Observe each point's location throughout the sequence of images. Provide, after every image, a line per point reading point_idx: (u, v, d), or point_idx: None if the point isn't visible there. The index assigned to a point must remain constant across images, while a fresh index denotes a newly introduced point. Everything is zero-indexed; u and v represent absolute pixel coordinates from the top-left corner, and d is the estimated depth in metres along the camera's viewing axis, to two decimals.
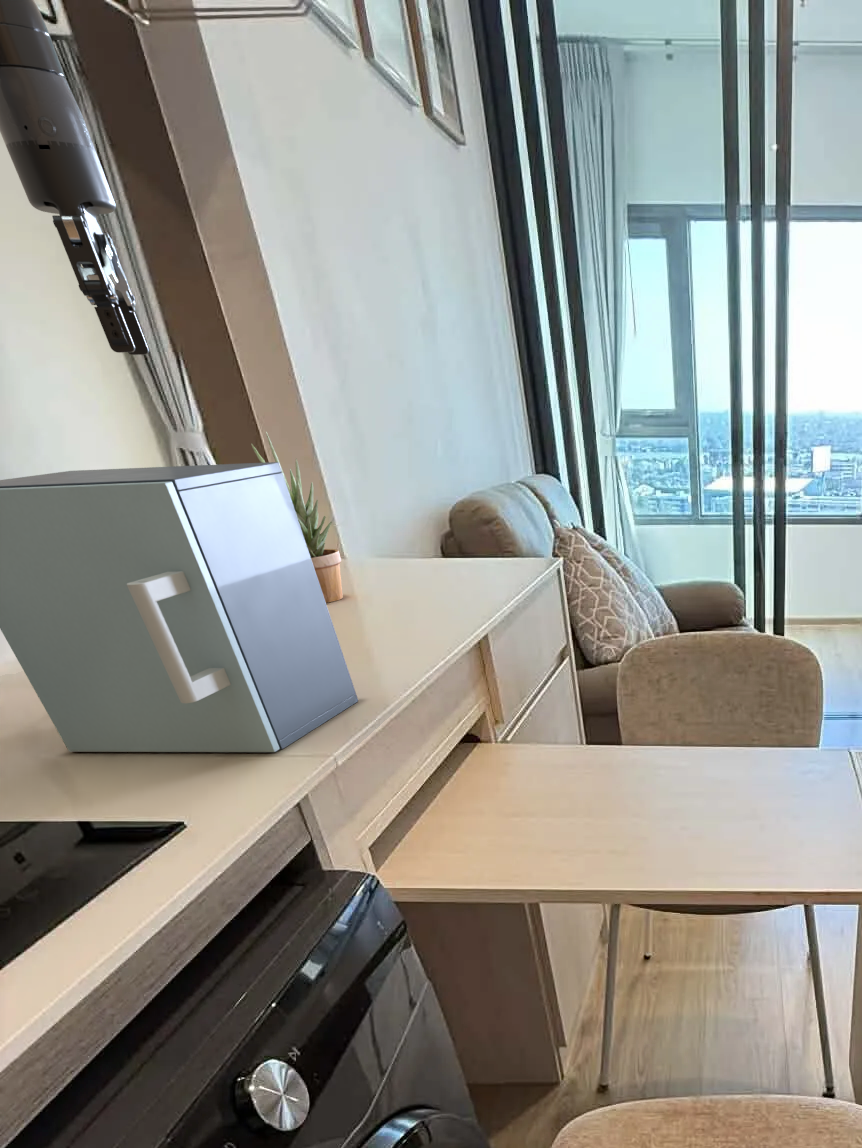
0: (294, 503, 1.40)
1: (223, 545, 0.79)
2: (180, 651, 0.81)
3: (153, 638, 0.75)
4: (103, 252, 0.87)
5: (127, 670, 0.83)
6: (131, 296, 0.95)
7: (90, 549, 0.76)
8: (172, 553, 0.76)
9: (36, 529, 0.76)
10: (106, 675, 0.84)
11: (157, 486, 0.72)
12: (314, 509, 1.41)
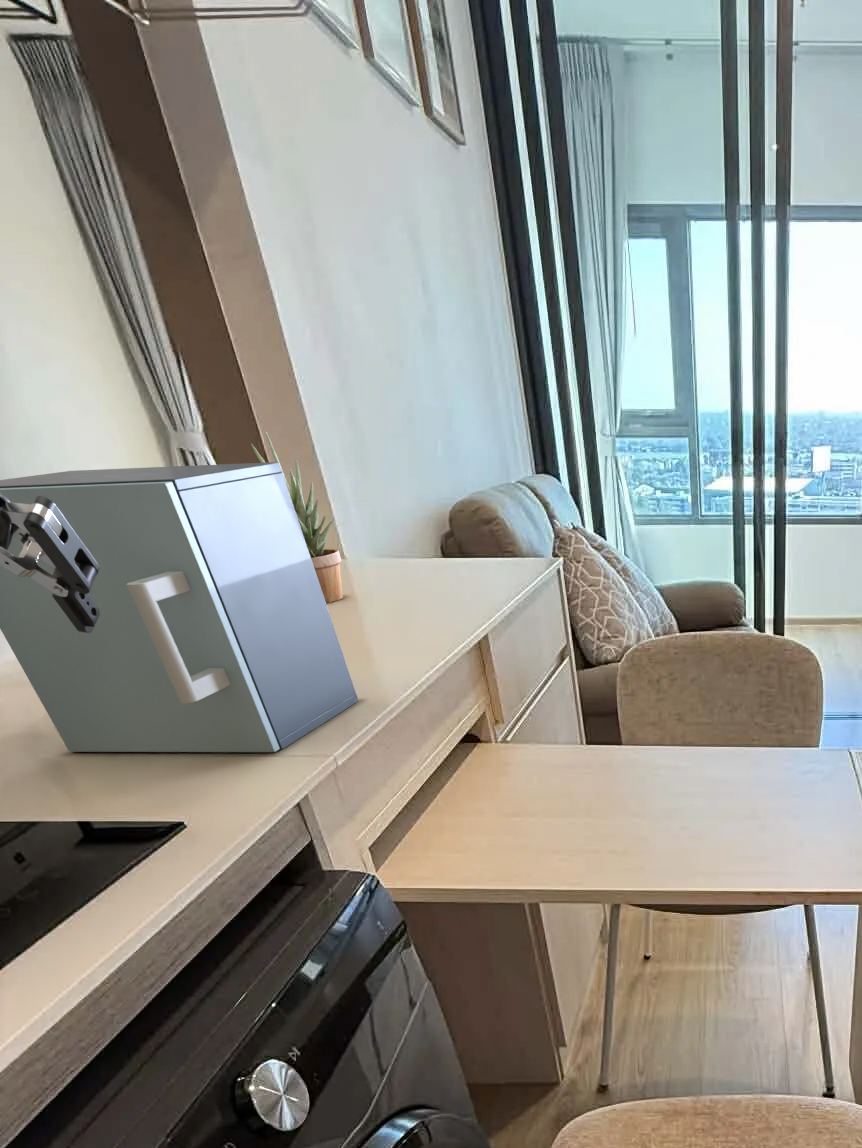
0: (294, 503, 1.40)
1: (223, 545, 0.79)
2: (180, 651, 0.81)
3: (153, 638, 0.75)
4: None
5: (127, 670, 0.83)
6: None
7: (90, 549, 0.76)
8: (172, 553, 0.76)
9: None
10: (106, 675, 0.84)
11: (157, 486, 0.72)
12: (314, 509, 1.41)
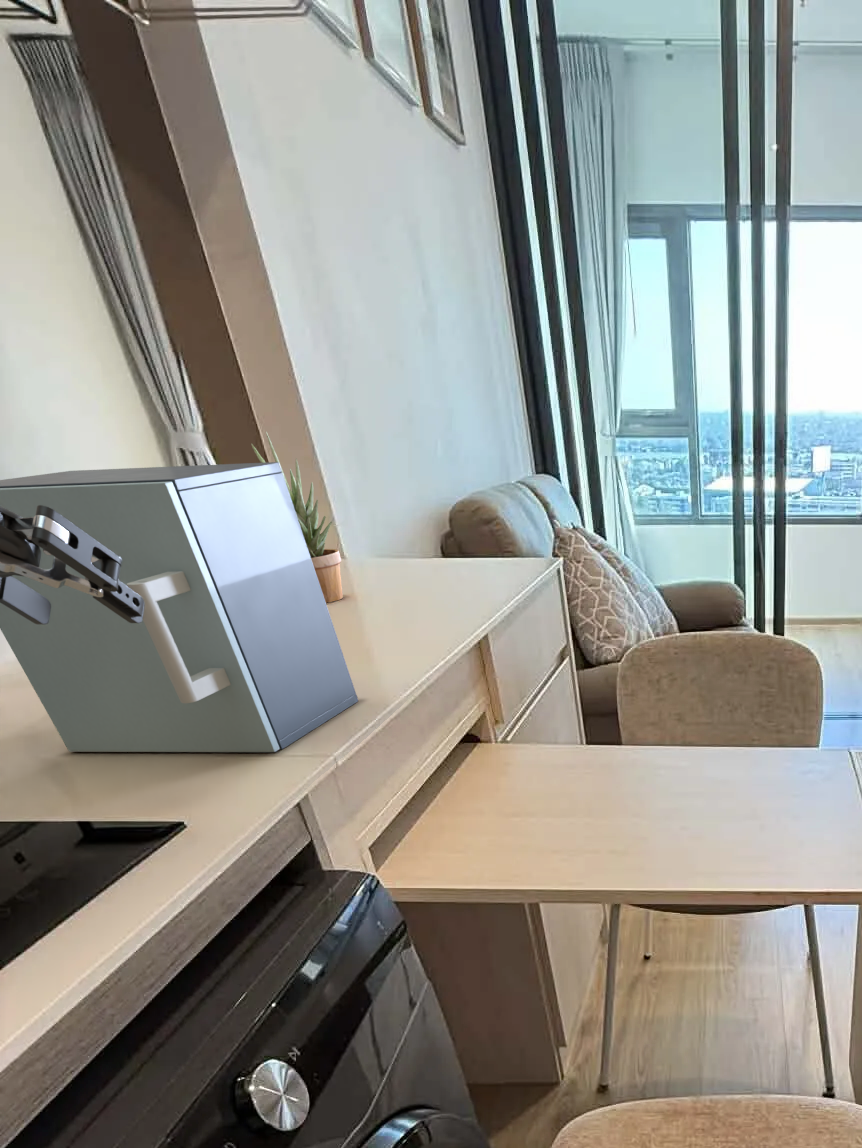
0: (294, 503, 1.40)
1: (223, 545, 0.79)
2: (180, 651, 0.81)
3: (153, 638, 0.75)
4: None
5: (127, 670, 0.83)
6: None
7: None
8: (172, 553, 0.76)
9: None
10: (106, 675, 0.84)
11: (157, 486, 0.72)
12: (314, 509, 1.41)
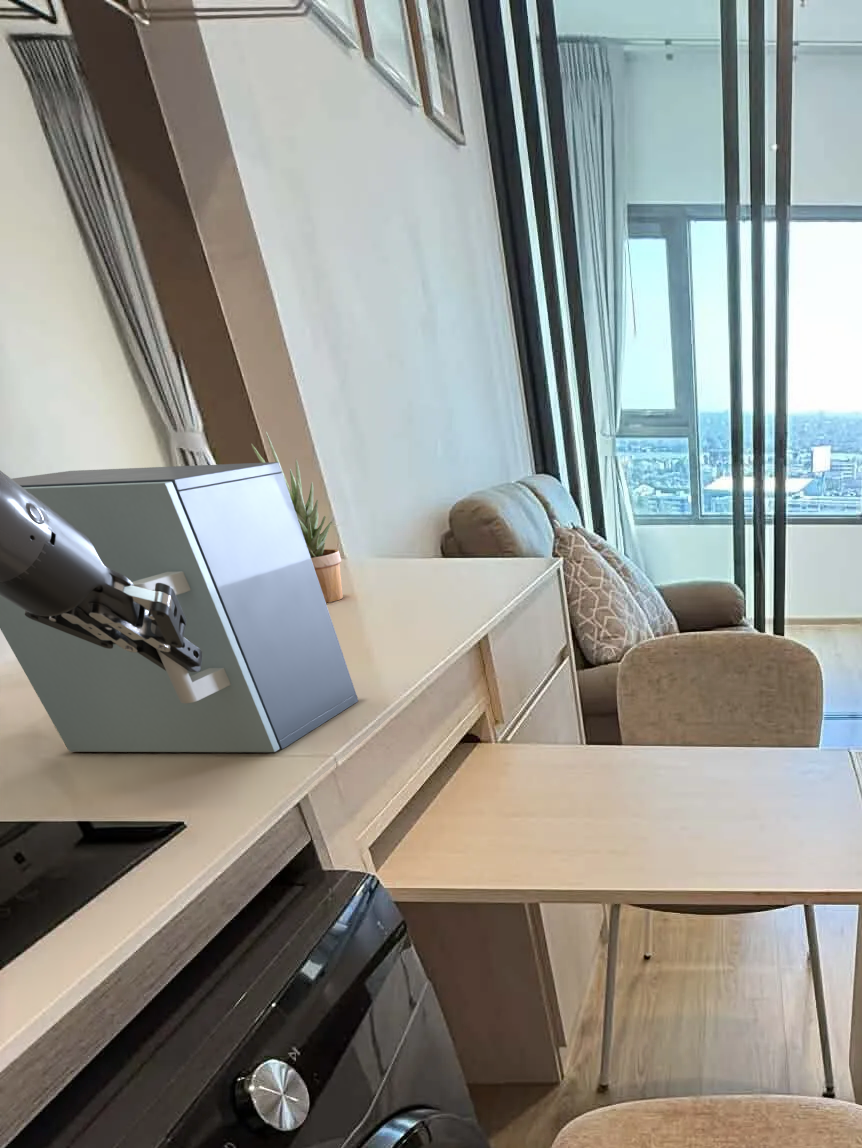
0: (294, 503, 1.40)
1: (223, 545, 0.79)
2: None
3: None
4: None
5: (127, 670, 0.83)
6: None
7: None
8: (172, 553, 0.76)
9: None
10: (106, 674, 0.84)
11: (156, 486, 0.72)
12: (314, 509, 1.41)
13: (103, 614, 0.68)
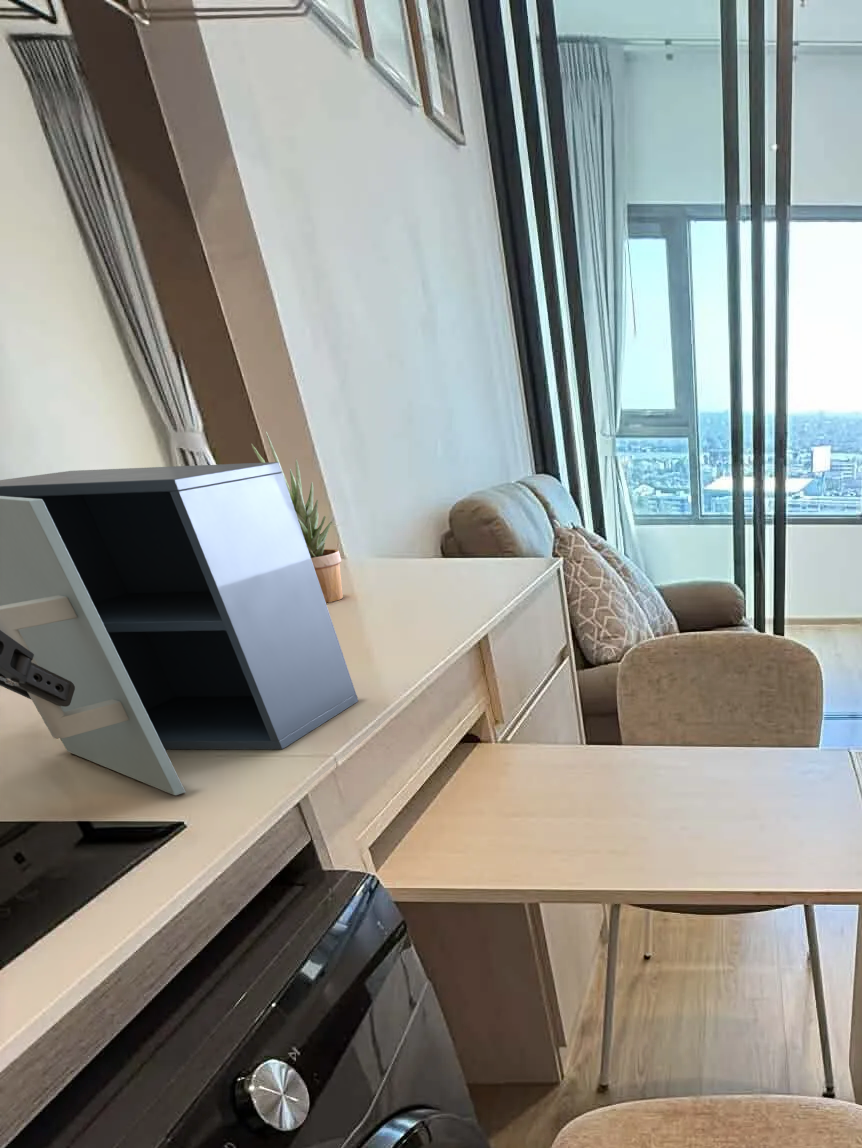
0: (294, 503, 1.40)
1: (223, 545, 0.79)
2: (92, 677, 0.75)
3: None
4: None
5: None
6: None
7: (13, 563, 0.71)
8: (55, 576, 0.68)
9: None
10: None
11: (25, 504, 0.64)
12: (314, 509, 1.41)
13: None
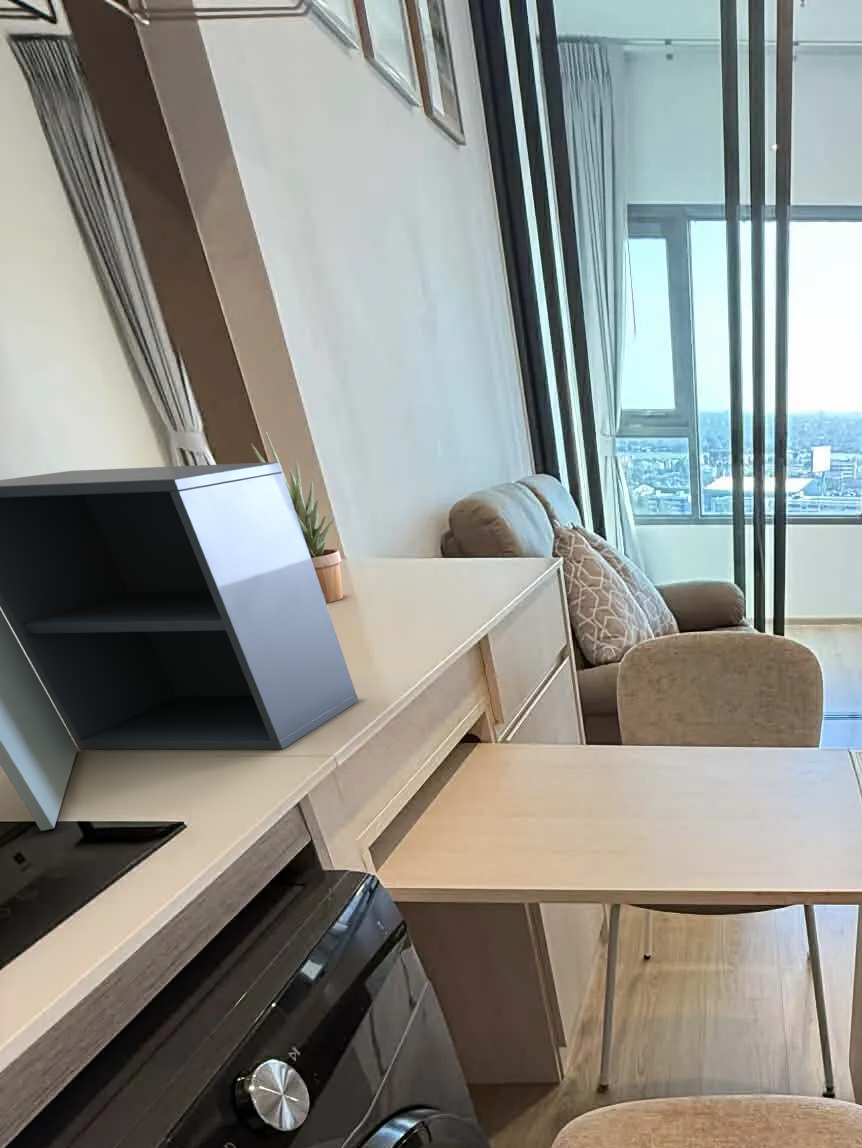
0: (294, 503, 1.40)
1: (223, 545, 0.79)
2: None
3: None
4: None
5: None
6: None
7: None
8: None
9: None
10: None
11: None
12: (314, 509, 1.41)
13: None
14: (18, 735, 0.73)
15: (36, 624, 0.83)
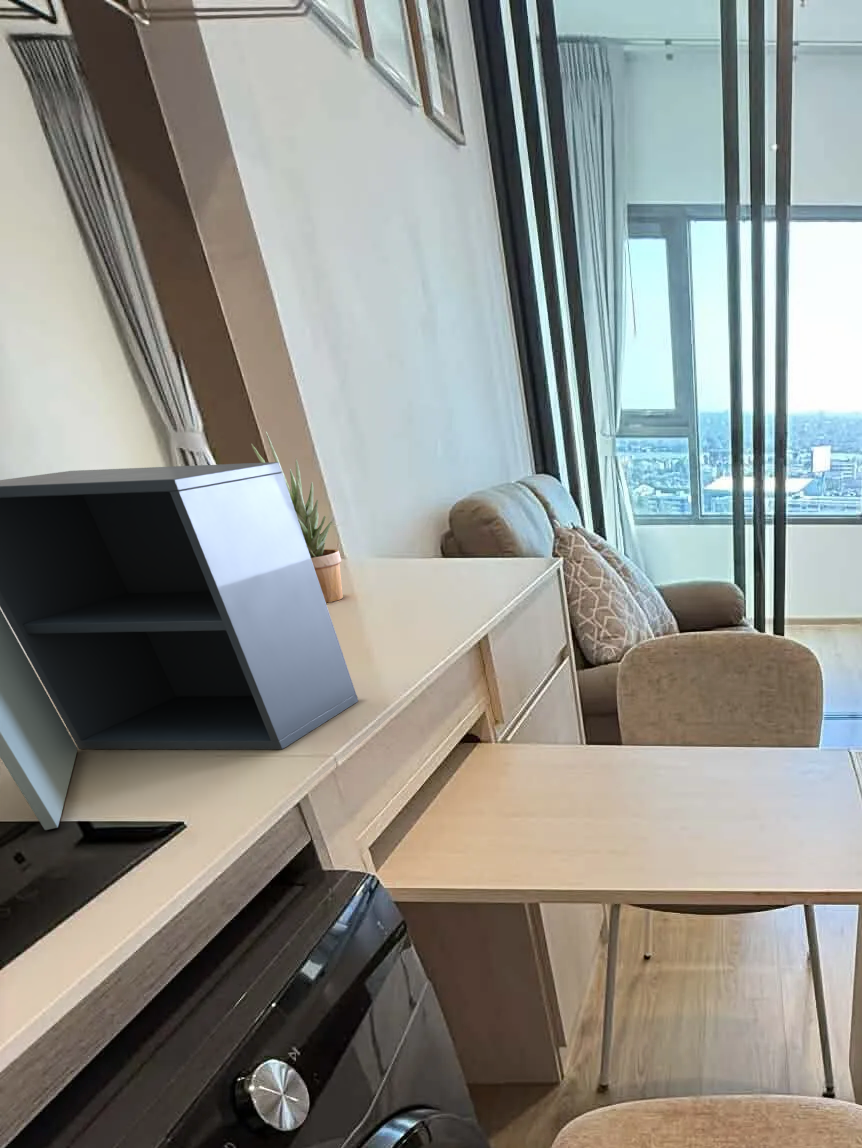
0: (294, 503, 1.40)
1: (223, 545, 0.79)
2: None
3: None
4: None
5: None
6: None
7: None
8: None
9: None
10: None
11: None
12: (314, 509, 1.41)
13: None
14: (21, 734, 0.73)
15: (36, 624, 0.83)
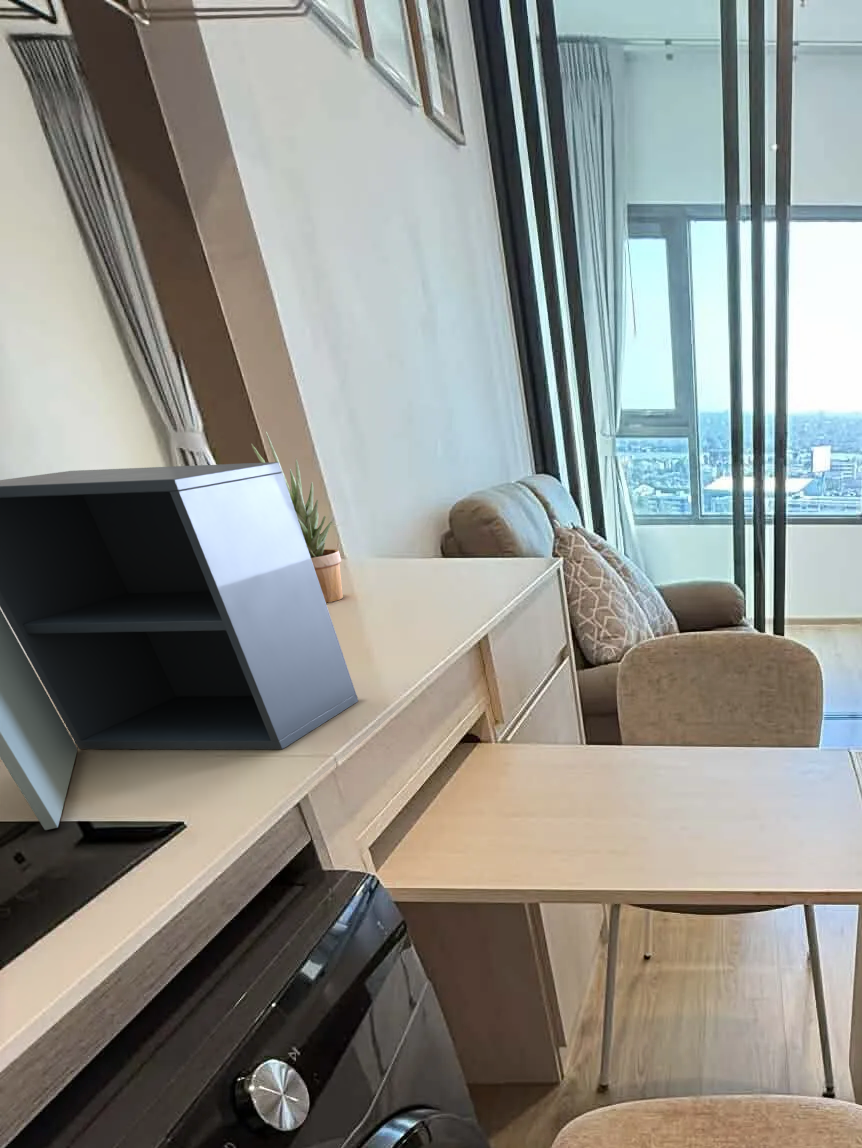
0: (294, 503, 1.40)
1: (223, 545, 0.79)
2: None
3: None
4: None
5: None
6: None
7: None
8: None
9: None
10: None
11: None
12: (314, 509, 1.41)
13: None
14: (21, 734, 0.73)
15: (36, 624, 0.83)
